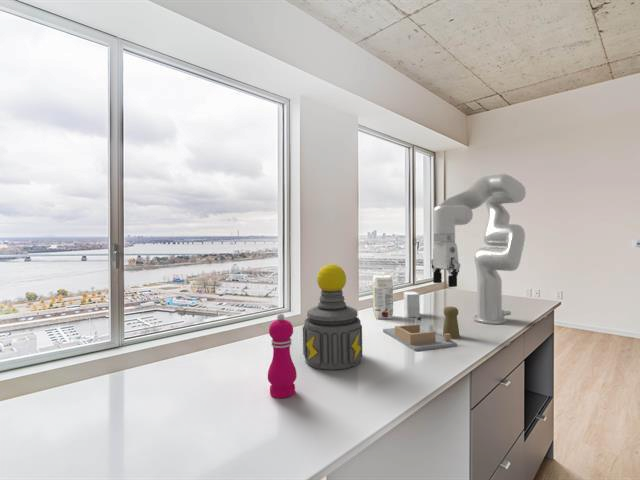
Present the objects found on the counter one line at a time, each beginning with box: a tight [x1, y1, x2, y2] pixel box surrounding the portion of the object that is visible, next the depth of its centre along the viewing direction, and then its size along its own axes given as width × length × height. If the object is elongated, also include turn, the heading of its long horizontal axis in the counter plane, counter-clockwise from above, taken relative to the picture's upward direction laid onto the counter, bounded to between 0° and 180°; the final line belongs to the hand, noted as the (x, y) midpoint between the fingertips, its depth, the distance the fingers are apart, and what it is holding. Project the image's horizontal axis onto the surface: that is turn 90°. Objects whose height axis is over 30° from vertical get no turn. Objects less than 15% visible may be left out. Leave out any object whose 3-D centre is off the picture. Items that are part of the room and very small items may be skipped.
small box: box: [403, 291, 421, 318], centre depth 169 cm, size 8×6×10 cm
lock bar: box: [415, 315, 434, 332], centre depth 142 cm, size 2×10×4 cm, turn 15°
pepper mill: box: [267, 313, 297, 399], centre depth 91 cm, size 7×7×20 cm
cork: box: [442, 306, 461, 340], centre depth 136 cm, size 6×6×11 cm
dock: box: [382, 323, 457, 352], centre depth 134 cm, size 16×24×4 cm, turn 16°
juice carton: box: [372, 274, 394, 320], centre depth 166 cm, size 8×9×19 cm
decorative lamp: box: [302, 263, 363, 371], centre depth 113 cm, size 19×19×30 cm
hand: (444, 284), depth 136 cm, fingers open, 9 cm apart
